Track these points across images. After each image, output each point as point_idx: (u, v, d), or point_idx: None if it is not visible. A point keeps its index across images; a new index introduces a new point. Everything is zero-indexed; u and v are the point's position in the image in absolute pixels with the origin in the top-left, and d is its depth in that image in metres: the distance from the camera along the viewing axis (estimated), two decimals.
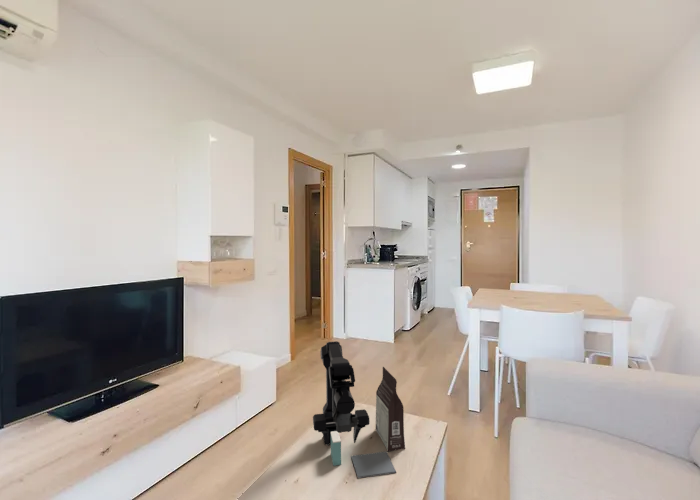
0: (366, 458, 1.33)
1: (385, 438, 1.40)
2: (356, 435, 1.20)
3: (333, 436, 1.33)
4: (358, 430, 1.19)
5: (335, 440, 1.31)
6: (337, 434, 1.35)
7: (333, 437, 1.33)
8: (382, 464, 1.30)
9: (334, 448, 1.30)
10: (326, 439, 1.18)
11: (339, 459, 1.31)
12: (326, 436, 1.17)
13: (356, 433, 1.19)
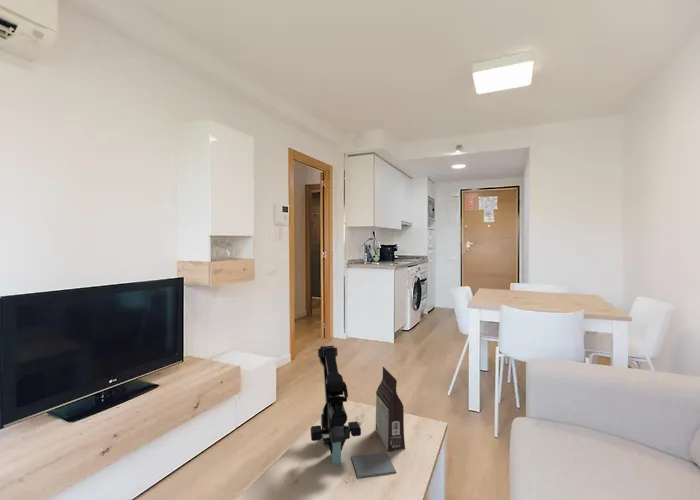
0: (366, 458, 1.33)
1: (385, 438, 1.40)
2: (341, 446, 1.33)
3: None
4: (343, 441, 1.33)
5: None
6: None
7: None
8: (382, 464, 1.30)
9: (334, 448, 1.30)
10: (330, 447, 1.32)
11: (339, 459, 1.31)
12: (330, 445, 1.32)
13: (341, 444, 1.33)
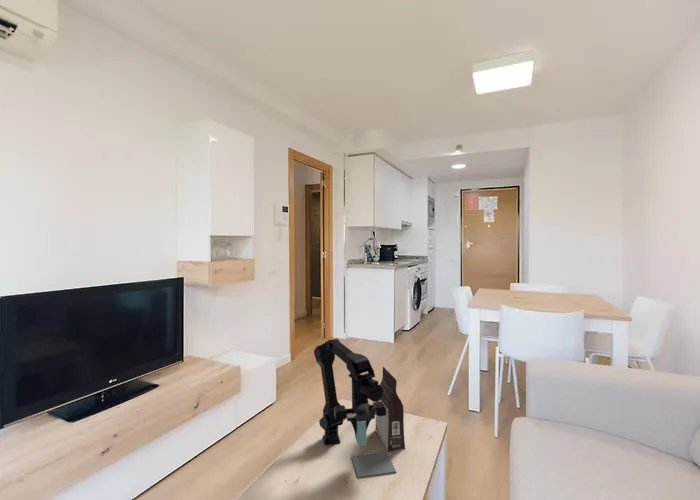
0: (366, 458, 1.33)
1: (385, 438, 1.40)
2: (366, 426, 1.28)
3: None
4: (368, 421, 1.28)
5: None
6: None
7: None
8: (382, 464, 1.30)
9: (359, 428, 1.25)
10: (354, 428, 1.28)
11: (364, 440, 1.26)
12: (354, 425, 1.27)
13: (366, 424, 1.28)
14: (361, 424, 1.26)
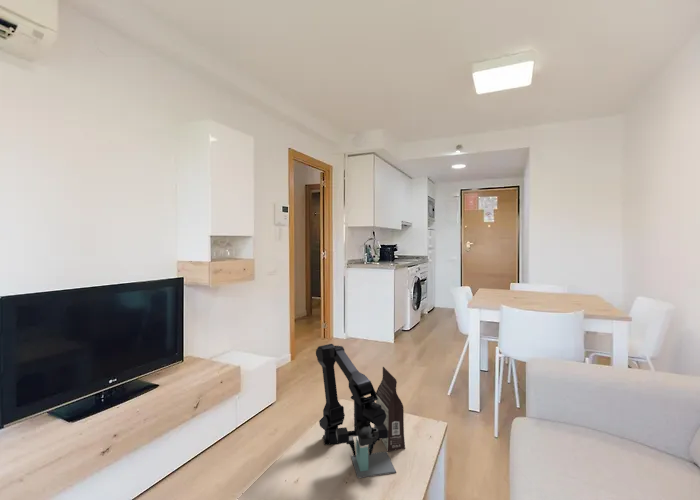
0: None
1: (385, 438, 1.40)
2: (371, 448, 1.29)
3: None
4: (373, 443, 1.29)
5: None
6: None
7: None
8: (382, 464, 1.30)
9: (361, 453, 1.26)
10: (353, 451, 1.28)
11: (366, 464, 1.26)
12: (353, 448, 1.28)
13: (371, 446, 1.29)
14: (363, 449, 1.26)
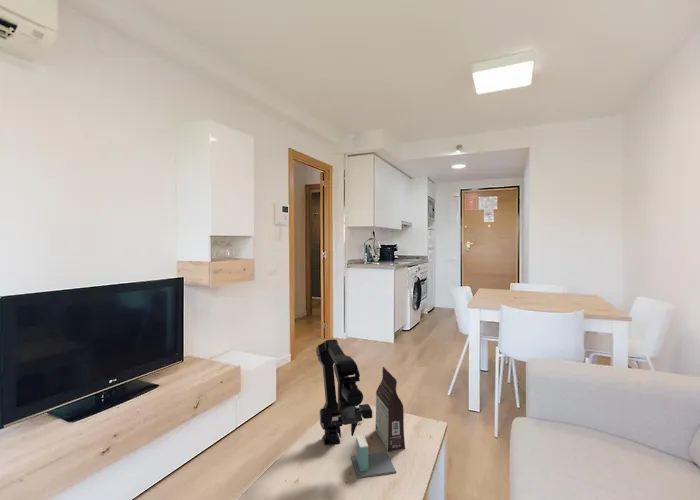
0: None
1: (385, 438, 1.40)
2: (353, 428, 1.27)
3: (359, 441, 1.29)
4: (355, 424, 1.27)
5: (362, 445, 1.26)
6: (363, 438, 1.30)
7: (359, 442, 1.28)
8: (382, 464, 1.30)
9: (361, 453, 1.26)
10: (339, 431, 1.27)
11: (366, 464, 1.26)
12: (339, 428, 1.26)
13: (353, 427, 1.27)
14: (363, 449, 1.26)
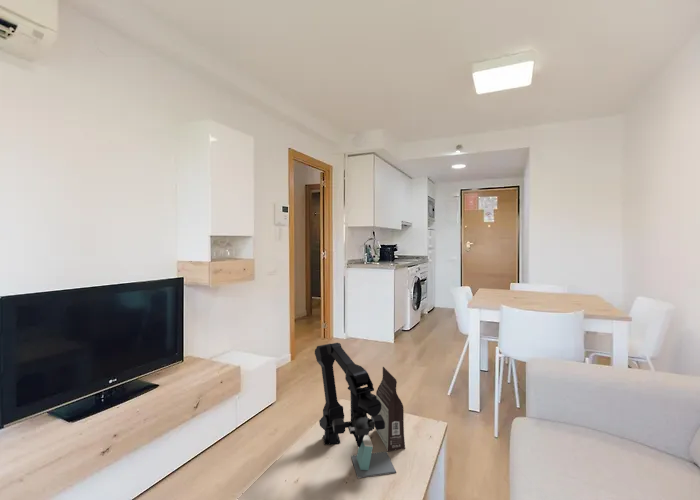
0: None
1: (385, 438, 1.40)
2: (361, 440, 1.28)
3: (364, 439, 1.29)
4: (363, 435, 1.28)
5: (367, 444, 1.27)
6: (368, 438, 1.31)
7: (364, 440, 1.29)
8: (382, 464, 1.30)
9: (365, 452, 1.26)
10: (357, 441, 1.28)
11: (367, 464, 1.26)
12: (357, 438, 1.28)
13: (361, 438, 1.28)
14: (367, 448, 1.26)
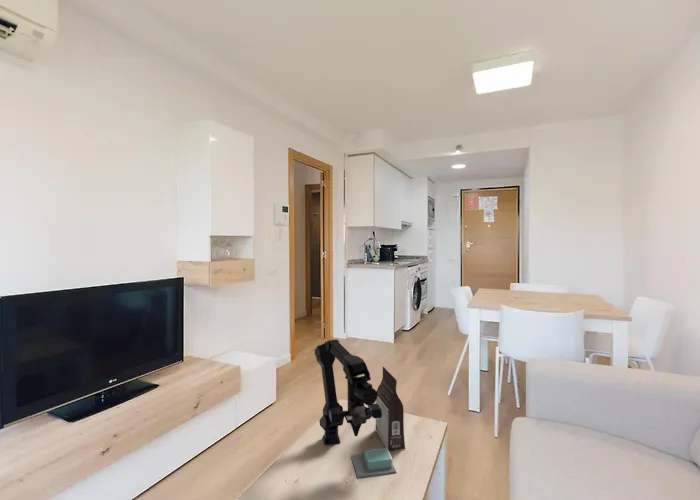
0: None
1: (385, 438, 1.40)
2: (358, 429, 1.28)
3: None
4: (360, 424, 1.28)
5: None
6: None
7: None
8: None
9: (385, 461, 1.28)
10: (354, 430, 1.28)
11: (374, 467, 1.27)
12: (354, 427, 1.27)
13: (358, 427, 1.28)
14: (389, 463, 1.28)
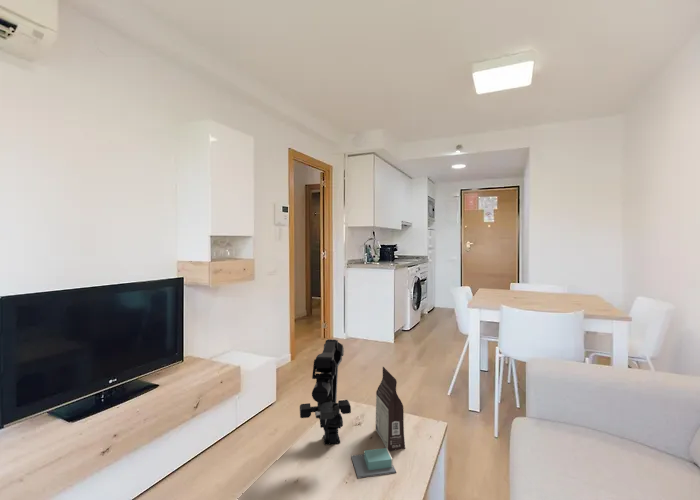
0: None
1: (385, 438, 1.40)
2: (327, 424, 1.31)
3: None
4: (329, 419, 1.30)
5: None
6: None
7: None
8: None
9: (385, 461, 1.28)
10: (323, 425, 1.31)
11: (374, 467, 1.27)
12: (323, 422, 1.30)
13: (327, 422, 1.31)
14: (389, 463, 1.28)
